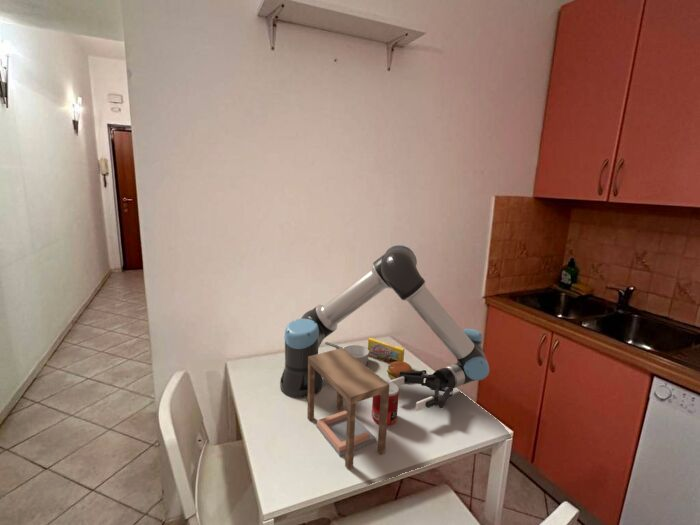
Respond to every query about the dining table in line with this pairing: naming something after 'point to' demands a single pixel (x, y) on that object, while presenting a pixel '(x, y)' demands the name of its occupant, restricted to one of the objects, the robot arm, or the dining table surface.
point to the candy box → (385, 351)
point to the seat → (343, 432)
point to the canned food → (391, 405)
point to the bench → (349, 391)
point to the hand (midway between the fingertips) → (401, 395)
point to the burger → (397, 369)
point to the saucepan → (355, 351)
